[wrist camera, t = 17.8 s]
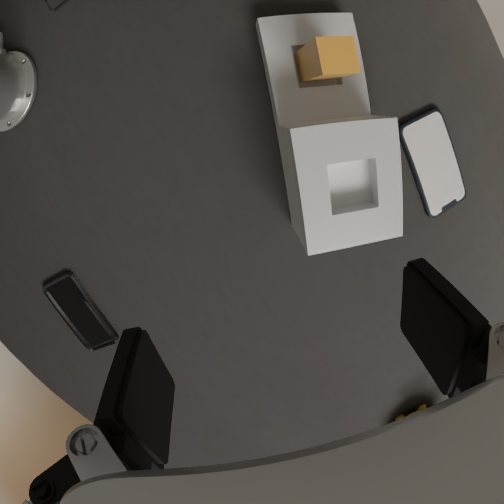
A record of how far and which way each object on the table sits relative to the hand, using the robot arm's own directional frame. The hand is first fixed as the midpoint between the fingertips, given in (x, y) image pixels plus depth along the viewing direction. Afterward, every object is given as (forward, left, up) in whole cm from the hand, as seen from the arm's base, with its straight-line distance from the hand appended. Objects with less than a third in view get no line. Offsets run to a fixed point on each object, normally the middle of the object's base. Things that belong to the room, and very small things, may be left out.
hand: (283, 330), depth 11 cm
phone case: (+4, +29, -34) cm, 44 cm away
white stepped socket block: (-4, +11, -33) cm, 35 cm away
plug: (-11, +11, -32) cm, 36 cm away
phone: (+18, -32, -34) cm, 49 cm away
